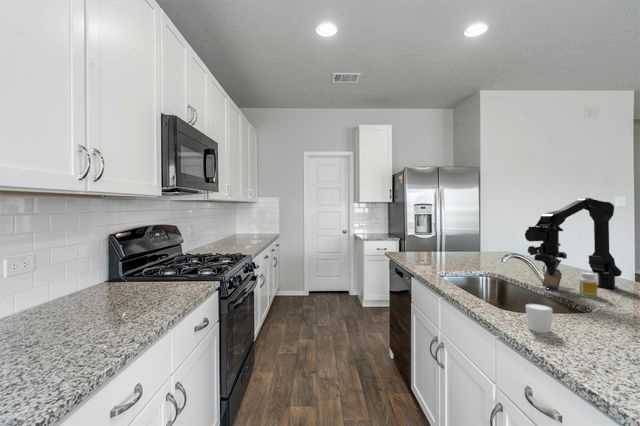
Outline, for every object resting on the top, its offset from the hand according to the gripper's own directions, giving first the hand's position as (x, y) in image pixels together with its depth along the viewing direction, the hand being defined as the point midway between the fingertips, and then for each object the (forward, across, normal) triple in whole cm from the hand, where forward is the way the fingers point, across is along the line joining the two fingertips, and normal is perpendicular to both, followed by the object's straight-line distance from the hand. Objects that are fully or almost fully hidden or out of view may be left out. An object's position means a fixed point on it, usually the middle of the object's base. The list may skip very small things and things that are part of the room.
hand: (551, 275), depth 135 cm
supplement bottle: (+7, -1, +13) cm, 15 cm away
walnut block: (+5, 0, 0) cm, 5 cm away
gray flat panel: (+7, -2, 0) cm, 7 cm away
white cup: (+8, +54, +16) cm, 57 cm away
